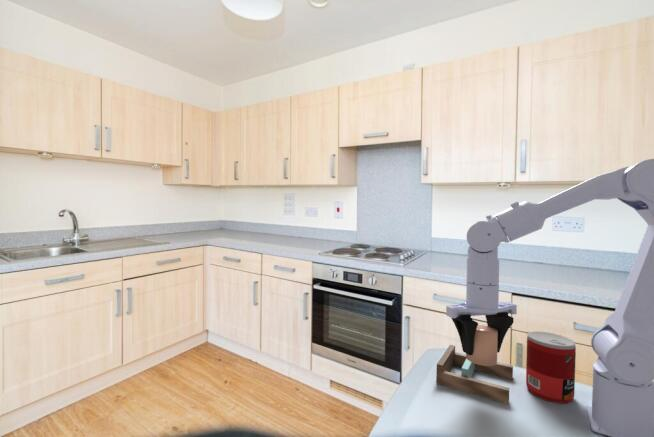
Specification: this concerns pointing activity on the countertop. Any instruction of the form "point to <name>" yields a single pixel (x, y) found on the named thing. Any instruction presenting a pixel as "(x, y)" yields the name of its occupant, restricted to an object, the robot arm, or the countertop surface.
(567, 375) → the canned food
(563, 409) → the countertop surface
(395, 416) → the countertop surface
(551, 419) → the countertop surface
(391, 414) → the countertop surface
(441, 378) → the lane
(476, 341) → the tan rounded cylinder
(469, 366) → the plate
